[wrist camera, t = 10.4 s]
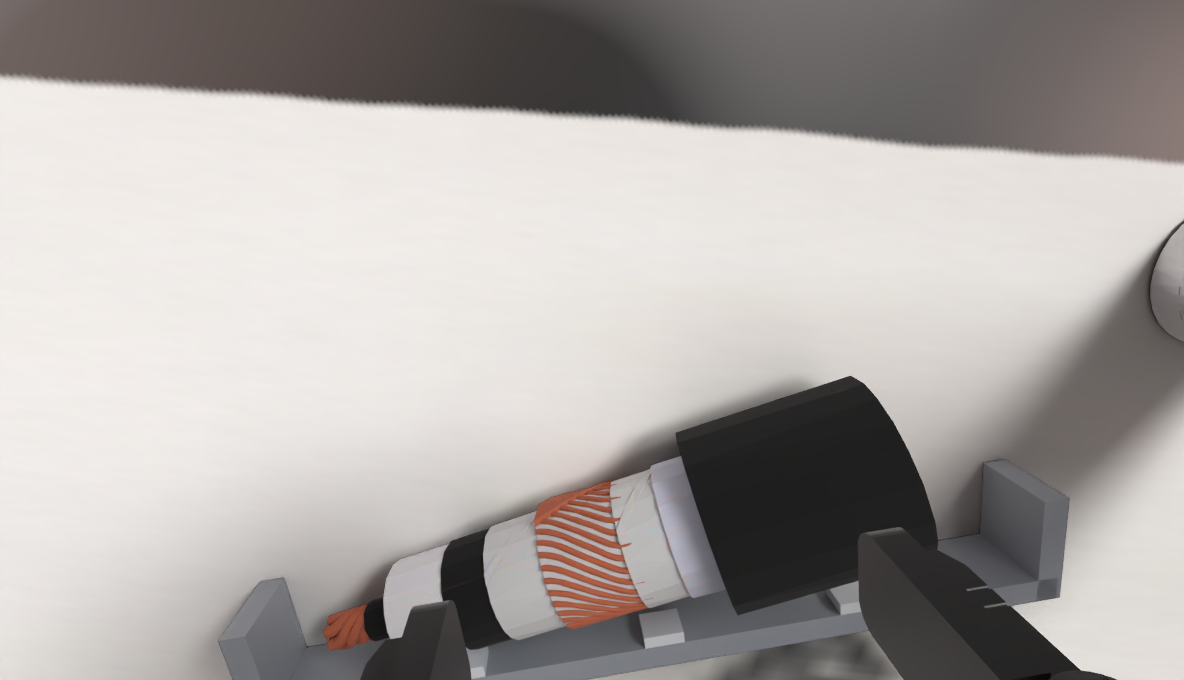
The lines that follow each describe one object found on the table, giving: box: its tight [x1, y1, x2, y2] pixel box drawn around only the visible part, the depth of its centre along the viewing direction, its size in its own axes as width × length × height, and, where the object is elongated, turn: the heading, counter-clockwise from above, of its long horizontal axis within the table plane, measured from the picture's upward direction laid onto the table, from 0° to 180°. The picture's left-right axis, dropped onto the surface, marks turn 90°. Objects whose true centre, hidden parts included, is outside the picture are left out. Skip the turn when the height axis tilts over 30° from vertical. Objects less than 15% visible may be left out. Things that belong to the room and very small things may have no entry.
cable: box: [323, 376, 938, 651], centre depth 34 cm, size 10×34×10 cm, turn 111°
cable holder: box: [218, 459, 1069, 680], centre depth 37 cm, size 50×7×5 cm, turn 98°
